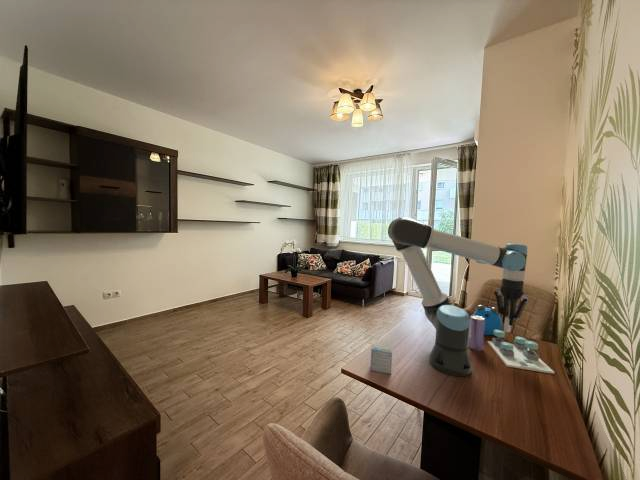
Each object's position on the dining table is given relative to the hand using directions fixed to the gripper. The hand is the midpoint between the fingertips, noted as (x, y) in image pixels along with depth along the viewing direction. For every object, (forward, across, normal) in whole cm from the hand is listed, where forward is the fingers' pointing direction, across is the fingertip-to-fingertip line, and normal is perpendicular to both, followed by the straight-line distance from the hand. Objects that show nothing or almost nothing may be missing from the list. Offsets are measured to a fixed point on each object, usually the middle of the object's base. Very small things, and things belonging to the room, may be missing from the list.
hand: (507, 331), depth 112 cm
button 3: (+8, +6, -7) cm, 12 cm away
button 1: (+10, 0, -1) cm, 10 cm away
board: (+11, -3, -4) cm, 12 cm away
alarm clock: (+11, +17, -17) cm, 27 cm away
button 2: (+8, -7, -7) cm, 12 cm away
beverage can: (+12, +10, +5) cm, 16 cm away
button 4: (+10, 0, -13) cm, 17 cm away
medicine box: (+13, +17, +58) cm, 61 cm away
